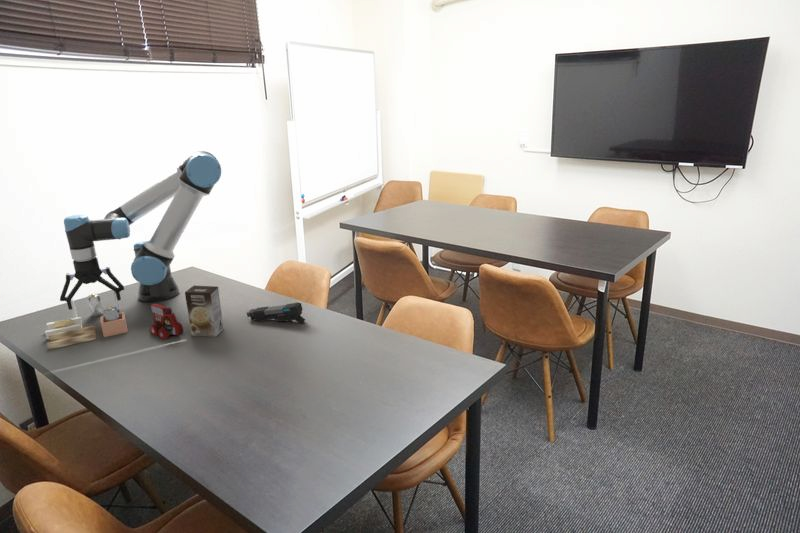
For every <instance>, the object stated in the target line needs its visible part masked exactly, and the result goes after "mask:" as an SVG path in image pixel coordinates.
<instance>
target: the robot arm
mask: <svg viewBox="0 0 800 533" xmlns="http://www.w3.org/2000/svg"><path fill="white" fill-rule="evenodd" d="M221 175H222V167H221V164H220V162H219V160H218V159H217V157H216V156H214V154H212V153H210V152H209V151H204V150H202V151H201V150H200V151H196V152H194V153H192V154H190V156H189V157H188V158H187V159H185V160H184V161H183V162H182V163H180V164H179V165H177V167H176V170H175V171H173V172H171V173H169V174H168V175H166V176H165V177H163V178H162V179H161V180H158V182H156V183H154V184H153V185H151V186H149V187H148V188H147V189H145V190H143V191H142V192H140V193H139V194H137V195H136V196H134V197H132V198H131V199H129V200H128V201H126V202H125V203H123V204H122V205H120V206H118V207H117V208H116V209H114V210H110V211H109V212H108V213H107V214H106V215H105V216H104V218H103V219H96V220H95V219H94V220H92V219H89V216H88V215H86V214H75V215H70V216H66V217H65V218H64V219H63V224H64V225H63V226H64V232H65V235H66V239H67V242H68V247H69V251H70V255H71V259H72V260H73V261H72V264H73V267H74V271H75V272H74V273H69V272H68V273H66V274H65V283H64V285H63V289H62V291H61V294H60V298H59V301H60V302H66V303H67V308H68V310H70V311H71V310H72V313H73V318H76V317H78V312H77V308H76V305H75V301H74V296H75V294H77V292H78V290H79V289H80V287H82V285H84V284H85V285H89V284H95V283H97V282H98V283H100V284H102V285H103V286H105V287H106V288H109V289H110V290H111V291H113V297H114V301H115V307H117V309H118V311H119V310H120V304H119V301H121V299H122V297H121V292H122V291H124V290H125V286H124V285H123V284H122V282H121V281H120V280H119V279H118V278H117V276H115V275H114V274H113V273H112V271H111V268H110V266H109V267H105V268H102V269H101V268H100V264H99V260H98V259H99V258H98V257H97V251H96V245H95V242H100V241H112V240H122V239H128V238H129V237H130V236H131V228H130V226H131V225H133V224H134V223H135V222H137V221H138V220H140V219H141V218H143V217H144V216H146V215H147V214H149V213H150V212H152V211H153V210H155V209H156V208H158V207H159V206H162V205H163V204H164V203H166V202H168V201H170V200H171V199H172V200H171V202H170V203H169V205H168V207H167V209H166V210H165V213H164V215H163V216H162V217H161V218H162V219H161V220H160V222H159V224H158V225H157V227H156V229H155V231H154V233H153V234H152V236H151V238H150V240H145V241H143V240H142V241H139V242H136V243H134V244H133V251H134V255H135V256H134V259H133V261H132V263H131V267H130V271H131V275H132V277H133V279H134V280H135V281H136V282H138V283H139V285H138V292H137V296H138V300H140V301H141V302H149V303H150V302H159V301H164V300H165V301H166V300H169V299H171V298H173V297H174V298H175V297H176V296H177V295H178V294H180V289H179V286H178V284H177V283H176V281H175V279H174V277H173V275H172V271H171V264H172V262H173V260H174V258H175V257H176V256H175V253H174V249H175V247H176V246H177V245H178V242H179V240H180V239H181V237H182V235H183V233H184V232H185V230H186V228H187V226H188V224H189V223H190V220H191V218H192V217H193V215H194V213H195V212H196V210H197V208H198V206H199V204H200V202H201V201H202V199H203V197H206V196H210V193H211V192H212V190H213V188H214V186H215V185H216V184H217V183H218V182H219V181H220V178H221V177H222V176H221ZM102 274H105V275H107V276H108V277H109V279H110V280H112V282H113V283H114V284H115V285H114V284H112V283H111V282H110V281H108V280H106V279H104V278H103V276H102ZM74 278H75V279H76V280H77V282H76V283H75V285H74V286H73V288H72V289H71V291H70V292H69V293H68V290H69V287H70V284H71V281H73V280H74ZM67 293H68V295H67ZM66 295H67V296H66Z"/></svg>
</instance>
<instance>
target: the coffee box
mask: <svg viewBox="0 0 800 533" xmlns="http://www.w3.org/2000/svg"><path fill="white" fill-rule="evenodd" d="M219 290H220V289H219V286H211V285H192V286H191V287H190V288H188V289H187V290H186V291H185V292H184V295H185V302H186V308H187V314H188V320H189V328H190V333H191V334H190V335H191V336H194V337H215V338H216V337H217V336H218V335H219V334H221V332H222V331H223V330H224V322H223V314H222V306H221V300H220V299H221V298H220V292H219Z"/></svg>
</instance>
